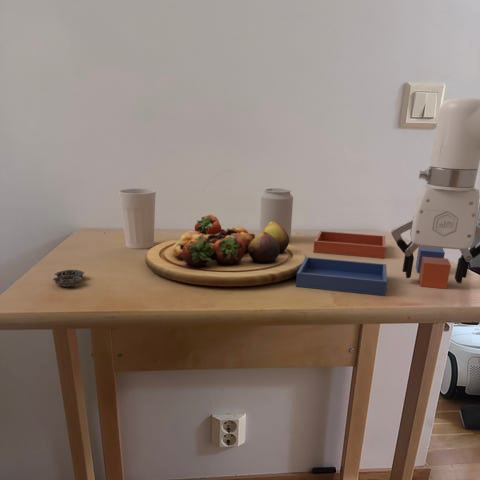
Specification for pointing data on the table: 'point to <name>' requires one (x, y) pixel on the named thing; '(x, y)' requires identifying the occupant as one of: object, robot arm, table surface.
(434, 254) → the blue block
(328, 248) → the terracotta tray
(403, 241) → the robot arm
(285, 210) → the can
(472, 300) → the table surface
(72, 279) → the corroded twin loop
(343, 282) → the blue tray
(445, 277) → the terracotta block
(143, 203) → the cup
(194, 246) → the wooden plate
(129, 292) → the table surface
